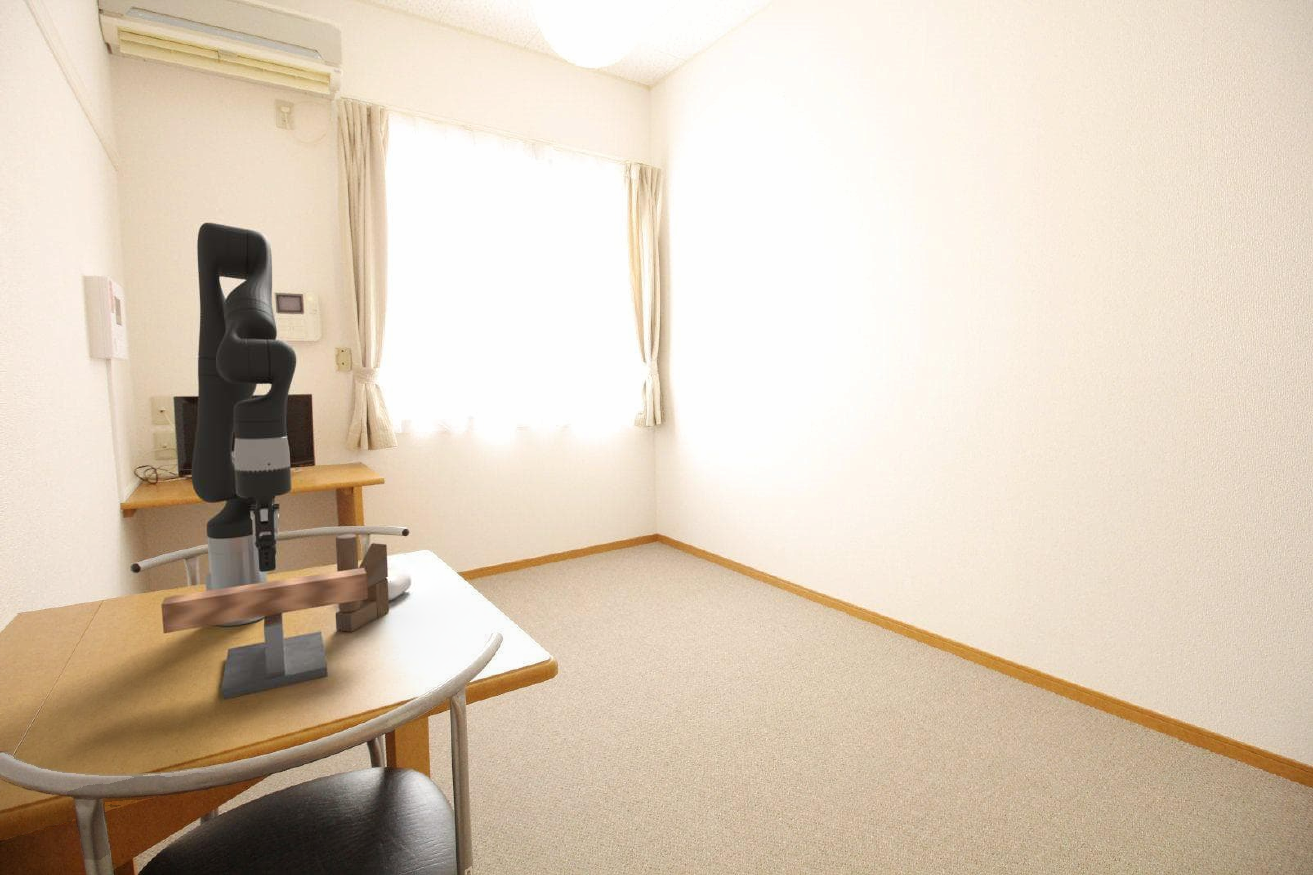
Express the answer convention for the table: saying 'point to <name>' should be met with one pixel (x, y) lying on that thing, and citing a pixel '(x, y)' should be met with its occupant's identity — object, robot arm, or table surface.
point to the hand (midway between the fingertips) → (268, 563)
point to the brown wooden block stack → (377, 583)
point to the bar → (262, 599)
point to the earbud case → (397, 583)
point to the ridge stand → (273, 661)
